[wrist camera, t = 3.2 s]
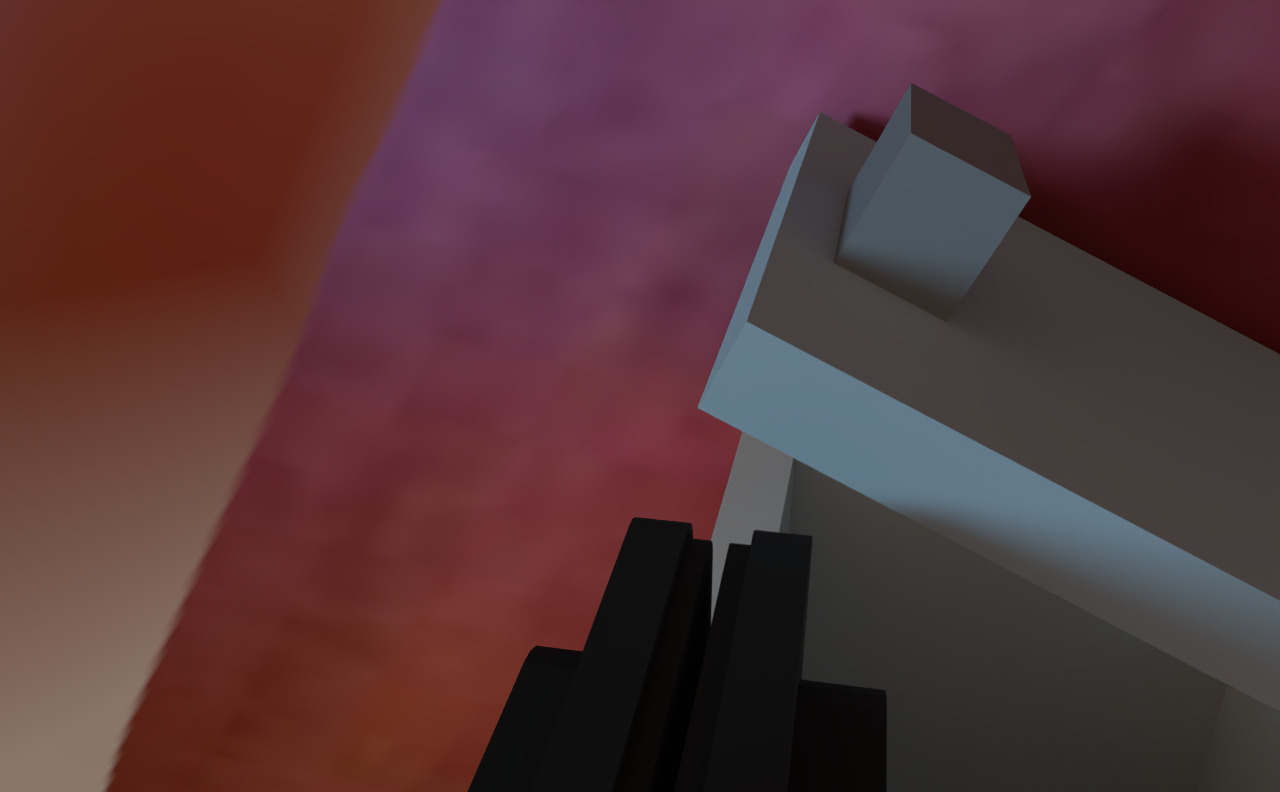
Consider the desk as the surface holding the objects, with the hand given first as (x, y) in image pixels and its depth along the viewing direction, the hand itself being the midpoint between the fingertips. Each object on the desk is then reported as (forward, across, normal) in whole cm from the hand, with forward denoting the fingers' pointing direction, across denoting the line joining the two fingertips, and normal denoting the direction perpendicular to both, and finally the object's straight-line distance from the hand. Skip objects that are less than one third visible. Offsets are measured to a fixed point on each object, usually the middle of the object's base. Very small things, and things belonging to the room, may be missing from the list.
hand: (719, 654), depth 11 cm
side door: (+10, -5, -1) cm, 11 cm away
